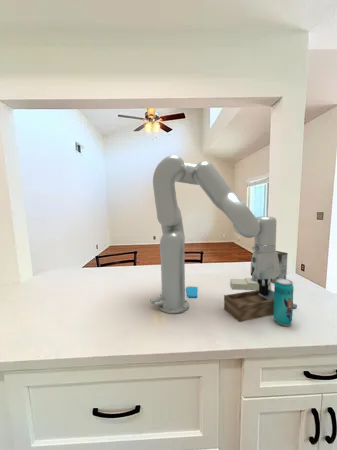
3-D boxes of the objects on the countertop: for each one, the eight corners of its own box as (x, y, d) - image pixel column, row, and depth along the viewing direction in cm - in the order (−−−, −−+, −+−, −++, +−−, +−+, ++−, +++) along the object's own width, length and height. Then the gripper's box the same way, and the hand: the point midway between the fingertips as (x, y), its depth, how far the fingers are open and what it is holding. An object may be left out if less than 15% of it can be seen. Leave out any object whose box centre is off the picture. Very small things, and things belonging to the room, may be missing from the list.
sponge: (183, 296, 96) (196, 295, 95) (186, 286, 108) (197, 285, 107) (184, 299, 96) (197, 299, 95) (186, 289, 108) (198, 288, 107)
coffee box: (263, 280, 116) (264, 251, 115) (270, 277, 120) (271, 249, 118) (280, 285, 109) (281, 254, 107) (286, 282, 112) (288, 252, 111)
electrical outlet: (230, 277, 112) (266, 278, 109) (230, 284, 112) (266, 285, 109) (232, 282, 105) (271, 283, 102) (232, 290, 105) (271, 291, 102)
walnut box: (239, 321, 76) (239, 306, 76) (224, 308, 86) (224, 295, 85) (275, 314, 81) (276, 300, 80) (257, 302, 90) (257, 290, 90)
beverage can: (284, 328, 71) (285, 285, 70) (269, 320, 77) (270, 279, 75) (295, 324, 74) (297, 282, 72) (281, 316, 79) (282, 277, 77)
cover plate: (271, 302, 81) (274, 292, 81) (258, 294, 88) (261, 285, 88) (296, 308, 85) (299, 298, 85) (282, 300, 92) (284, 291, 92)
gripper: (255, 252, 77) (253, 301, 79) (288, 249, 81) (286, 295, 83) (242, 248, 84) (241, 293, 86) (273, 245, 88) (271, 288, 90)
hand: (263, 294), depth 84 cm, fingers closed
